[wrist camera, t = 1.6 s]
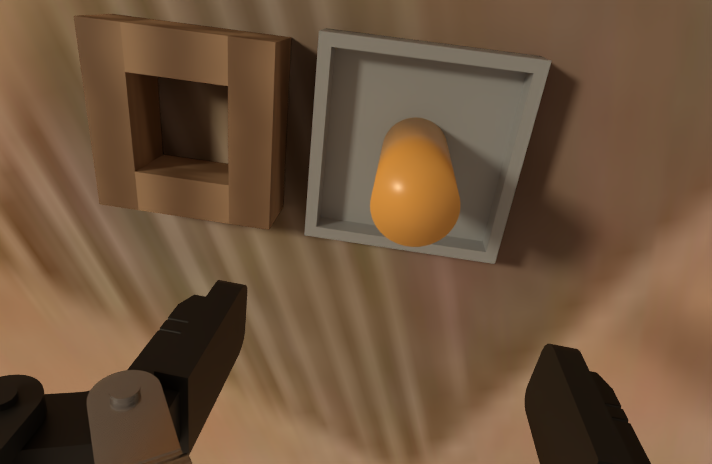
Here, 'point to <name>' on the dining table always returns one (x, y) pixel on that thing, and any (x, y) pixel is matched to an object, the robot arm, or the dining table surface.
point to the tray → (429, 101)
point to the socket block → (143, 123)
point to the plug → (415, 185)
